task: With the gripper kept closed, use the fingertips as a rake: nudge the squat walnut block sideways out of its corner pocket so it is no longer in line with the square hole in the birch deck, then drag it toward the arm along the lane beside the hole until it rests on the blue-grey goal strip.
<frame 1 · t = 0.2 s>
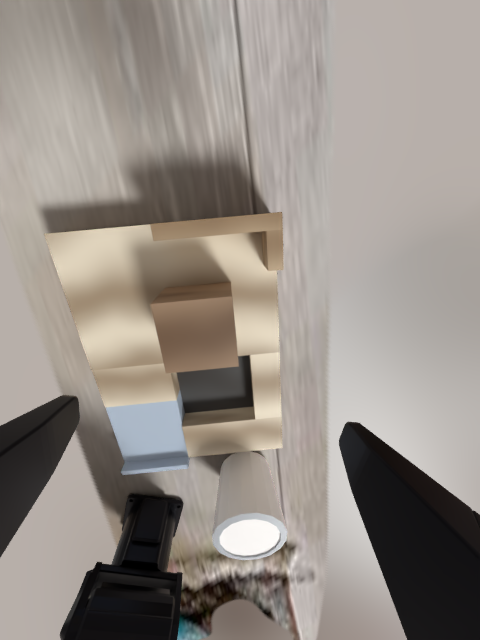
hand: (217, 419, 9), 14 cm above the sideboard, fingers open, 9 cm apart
goal strip: (154, 419, 26), on the sideboard
birch deck: (189, 350, 24), on the sideboard
white cylinder: (245, 467, 30), on the sideboard
walnut block: (202, 315, 20), point 2 cm above the sideboard, touching birch deck
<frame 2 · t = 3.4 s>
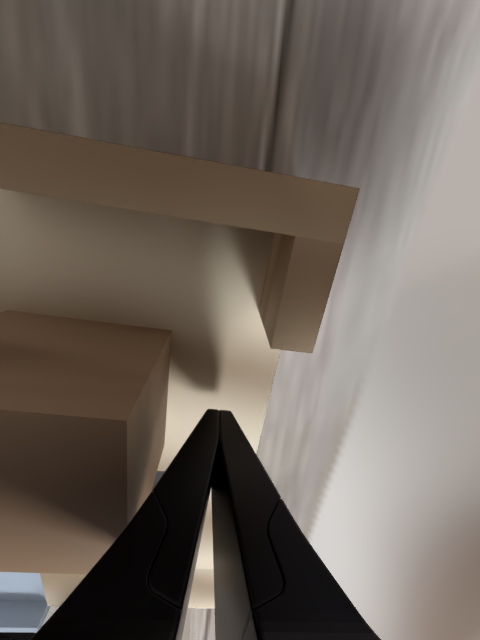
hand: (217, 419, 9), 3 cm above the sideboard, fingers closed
goal strip: (1, 522, 14), on the sideboard
birch deck: (80, 426, 12), on the sideboard
white cylinder: (156, 599, 19), on the sideboard
walnut block: (95, 386, 9), point 2 cm above the sideboard, touching birch deck, gripper
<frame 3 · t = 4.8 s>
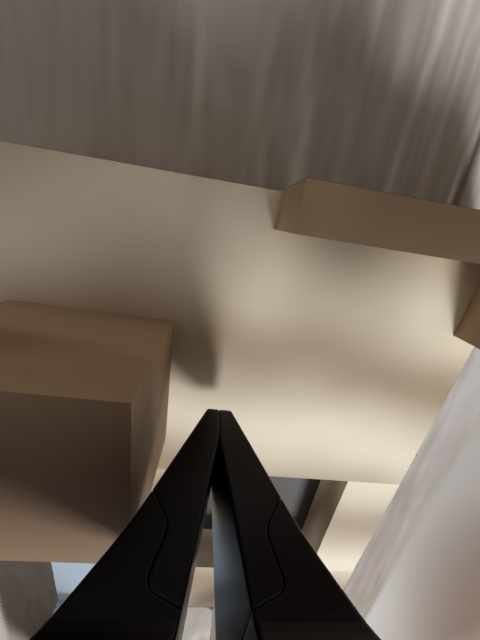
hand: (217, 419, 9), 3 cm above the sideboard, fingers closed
goal strip: (129, 527, 15), on the sideboard
birch deck: (227, 436, 13), on the sideboard
walnut block: (96, 377, 9), point 2 cm above the sideboard, touching birch deck, gripper
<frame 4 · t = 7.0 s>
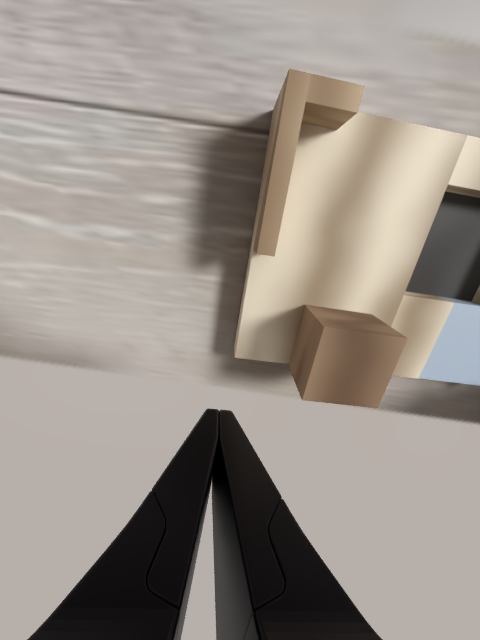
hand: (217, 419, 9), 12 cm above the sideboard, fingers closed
goal strip: (456, 338, 22), on the sideboard
birch deck: (394, 268, 19), on the sideboard
walnut block: (328, 340, 19), point 2 cm above the sideboard, touching birch deck
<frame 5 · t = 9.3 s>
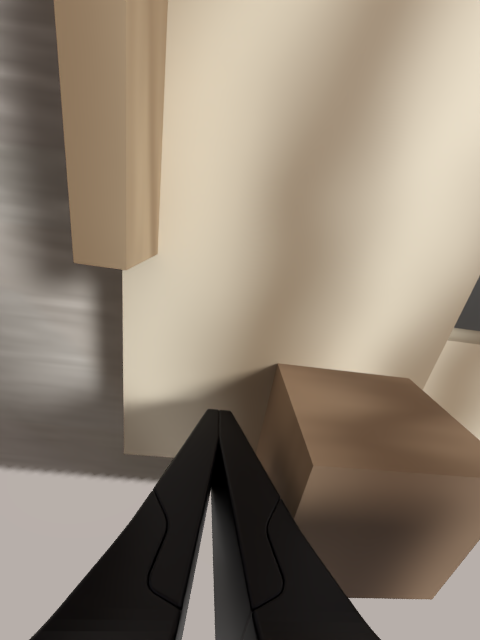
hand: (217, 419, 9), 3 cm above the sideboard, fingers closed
birch deck: (423, 285, 10), on the sideboard
walnut block: (325, 424, 10), point 2 cm above the sideboard, touching gripper
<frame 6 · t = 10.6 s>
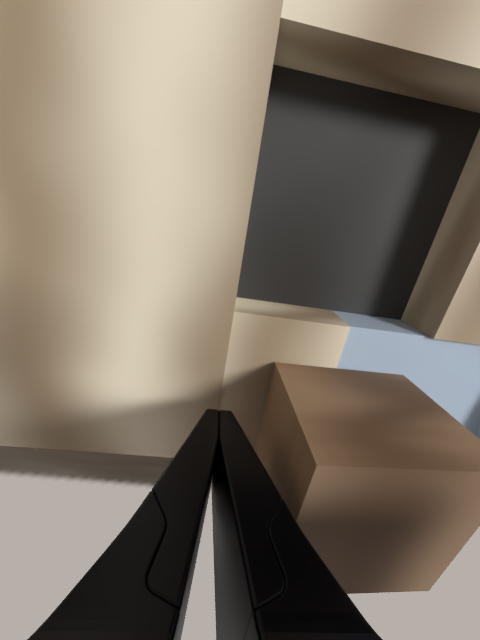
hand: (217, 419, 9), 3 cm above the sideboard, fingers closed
goal strip: (381, 384, 12), on the sideboard
birch deck: (238, 256, 9), on the sideboard
walnut block: (322, 422, 10), point 2 cm above the sideboard, touching birch deck, goal strip, gripper
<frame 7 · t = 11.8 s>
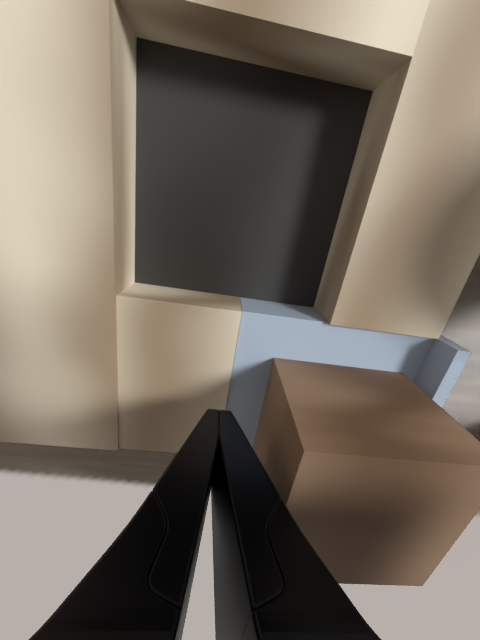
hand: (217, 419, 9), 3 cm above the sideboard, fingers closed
goal strip: (304, 374, 12), on the sideboard
birch deck: (136, 240, 9), on the sideboard
walnut block: (321, 418, 10), point 2 cm above the sideboard, touching goal strip, gripper
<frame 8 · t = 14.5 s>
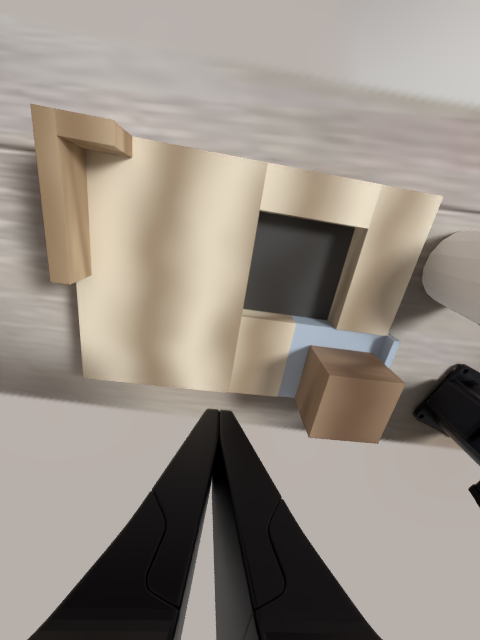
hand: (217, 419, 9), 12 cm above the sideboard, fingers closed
goal strip: (321, 355, 22), on the sideboard
birch deck: (243, 289, 19), on the sideboard
white cylinder: (456, 267, 20), on the sideboard
walnut block: (332, 376, 20), point 2 cm above the sideboard, touching goal strip
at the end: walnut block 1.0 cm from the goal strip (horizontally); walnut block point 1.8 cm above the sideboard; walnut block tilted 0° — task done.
